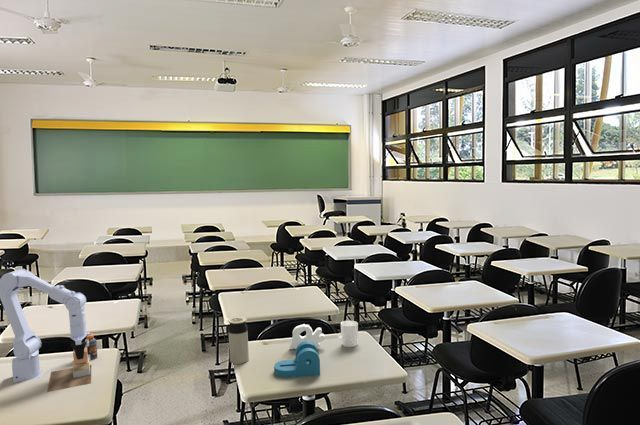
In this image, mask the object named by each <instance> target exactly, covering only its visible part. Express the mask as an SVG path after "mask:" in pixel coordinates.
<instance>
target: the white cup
mask: <svg viewBox="0 0 640 425" xmlns="http://www.w3.org/2000/svg"><path fill="white" fill-rule="evenodd" d="M340 332H341V333H340V336H341V342H342V346H343V347H347V348H353V347H356V346H357V345H358V338H359V337H358V335H359V334H358V332H359V323H358V322H357V321H355V320H343V321H341V322H340Z"/></svg>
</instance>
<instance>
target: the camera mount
mask: <svg viewBox="0 0 640 425" xmlns="http://www.w3.org/2000/svg"><path fill="white" fill-rule="evenodd" d="M318 350H319V349H317V347H316V345H315V344H314V343H312V342H310V341H304V342H301V343H300V344H299V345H298V346H297V348H296V349H295V358H293V359H283V360H279V361H277V362H276V363H275V364H274V365H273V368H274V369H273V371H274V372H273V373H274V375H275V376H276V377H279V378H282V379H283V378H284V379H285V378H286V379H287V378H288V379H290V378H303V377H304V378H305V377H317V376H321V361H320V355H319V352H318Z"/></svg>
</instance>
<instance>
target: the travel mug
mask: <svg viewBox="0 0 640 425" xmlns="http://www.w3.org/2000/svg"><path fill="white" fill-rule="evenodd" d="M228 323H229V326H228V328H227V329H228V344H229V345H228V348H229V362H230V363H231V364H236V365H241V364H245V363H247V362H248V361H249V359H250V357H249V338H248V337H249V335H248V330H249V329H248V325H247V318H246V317H242V316H236V317H231V318H230V319H229V320H228Z"/></svg>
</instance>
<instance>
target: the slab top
mask: <svg viewBox="0 0 640 425" xmlns="http://www.w3.org/2000/svg"><path fill="white" fill-rule="evenodd" d="M90 363H91V362H90V361H89V358H88V362H85V363H79V364H74V359H73V360H72V368H73V372H75V371H80V370H85V369H89V367H90V365H91V364H90Z"/></svg>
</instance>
